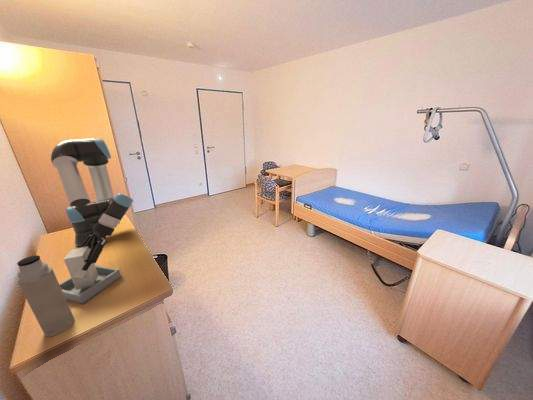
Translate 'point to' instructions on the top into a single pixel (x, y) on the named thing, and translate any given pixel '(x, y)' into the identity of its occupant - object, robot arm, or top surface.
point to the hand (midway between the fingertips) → (74, 272)
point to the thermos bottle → (44, 295)
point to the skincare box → (73, 265)
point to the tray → (85, 294)
